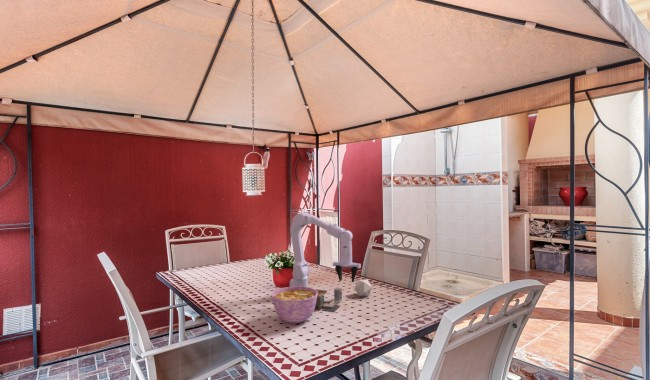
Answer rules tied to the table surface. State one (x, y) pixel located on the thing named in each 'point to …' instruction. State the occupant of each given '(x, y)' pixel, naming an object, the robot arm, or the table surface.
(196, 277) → the table surface
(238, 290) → the table surface
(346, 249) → the robot arm
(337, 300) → the hook
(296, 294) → the bowl of food
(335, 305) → the dark grey plate
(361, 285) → the die
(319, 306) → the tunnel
